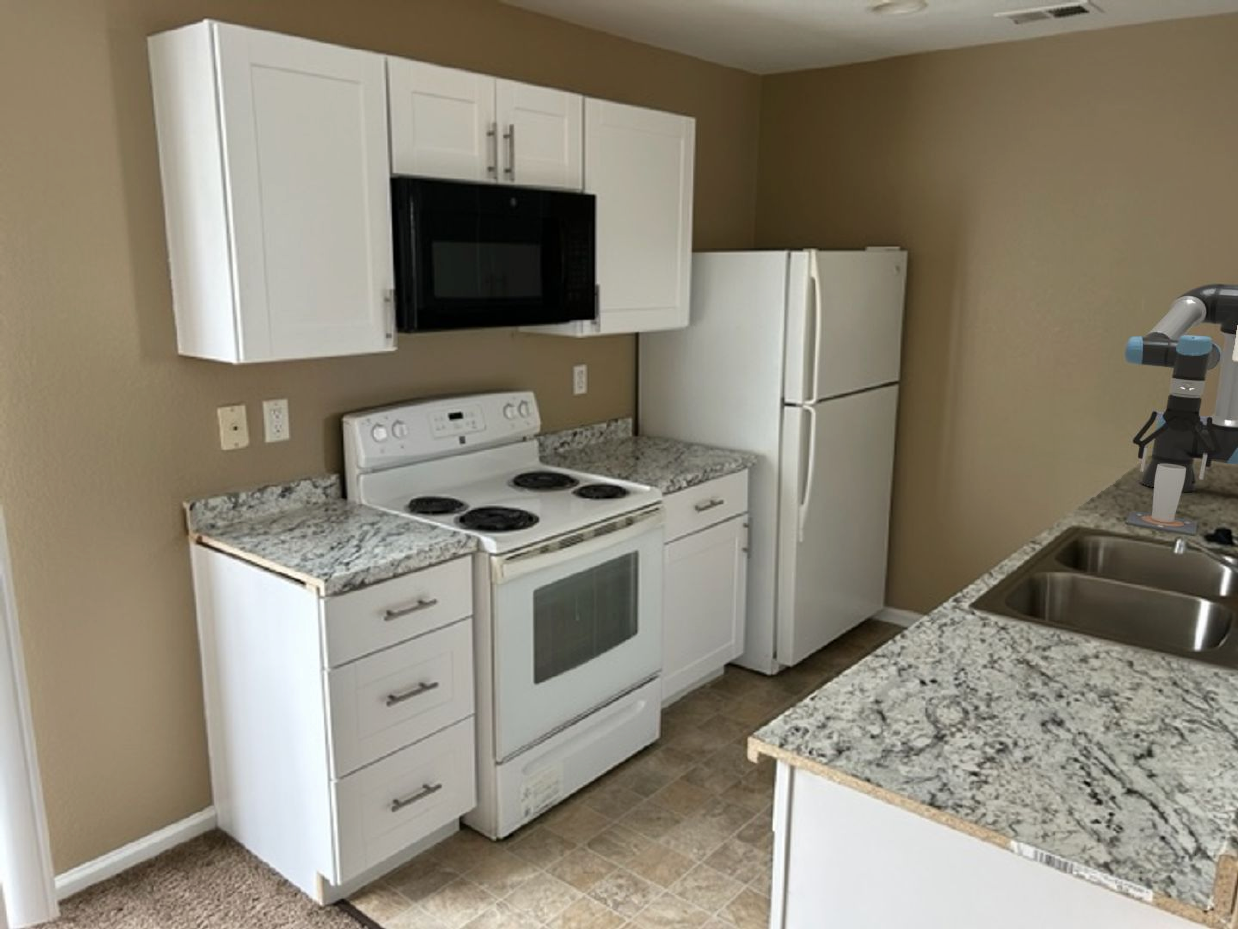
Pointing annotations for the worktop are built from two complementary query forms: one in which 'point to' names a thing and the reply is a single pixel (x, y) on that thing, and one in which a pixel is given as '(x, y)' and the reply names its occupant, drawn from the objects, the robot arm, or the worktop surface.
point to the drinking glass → (1167, 491)
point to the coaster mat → (1176, 526)
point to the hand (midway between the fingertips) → (1170, 474)
